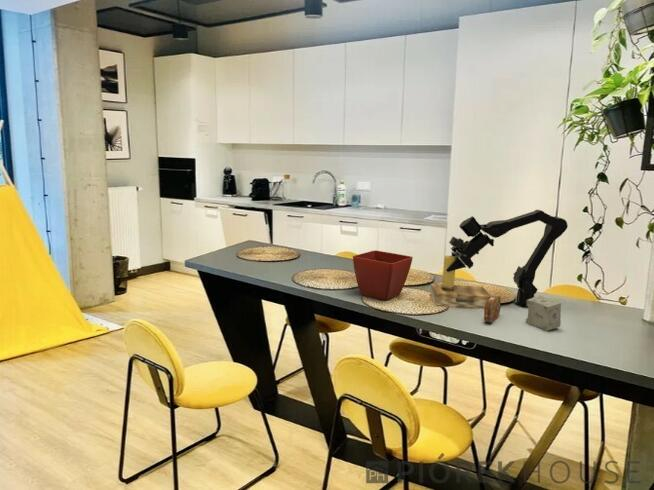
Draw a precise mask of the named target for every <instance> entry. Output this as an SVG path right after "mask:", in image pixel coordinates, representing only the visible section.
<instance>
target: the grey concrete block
mask: <svg viewBox="0 0 654 490" xmlns="http://www.w3.org/2000/svg"><path fill="white" fill-rule="evenodd" d="M526 305H527V306H528V307H527V308H528V309H527V317H526V319H525V323H526V324H527V325H530V326H534V327H536V328H540V329H542V330H543V331H545V330H546V331H551V330H554V329H557V328H560V327H561V324H562V323H561V322H562V321H561V317H562V316H561V315H562V314H561V311H562V304H561V302H560V301H558V300H554V299H552V298H549V297H547V296H543V295H537V296H534V298H531V299H528V300H527V301H526ZM546 331H545V332H546Z"/></svg>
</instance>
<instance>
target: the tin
mask: <svg viewBox="0 0 654 490" xmlns="http://www.w3.org/2000/svg"><path fill="white" fill-rule="evenodd" d="M491 296H492V297H491V298H489V299H488V300H487V301H486V303H485V307H484V308H483V310H484V311H483V313H484V315H483V321H484V322H485V323H490V324H493V323H494V322H495V321H496V320H497V319H498V318H499V316H500V312H501V305H502V304H501V300H502V299H501V297H500V295H498V296H497V295H491Z"/></svg>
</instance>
